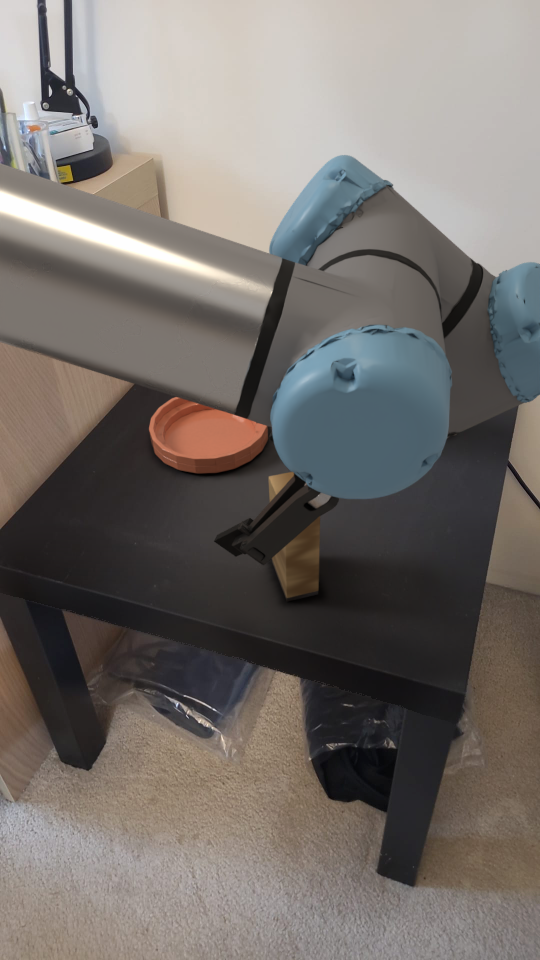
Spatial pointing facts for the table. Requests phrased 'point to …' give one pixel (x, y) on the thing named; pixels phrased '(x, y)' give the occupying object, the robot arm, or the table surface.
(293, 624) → the table surface
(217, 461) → the bowl
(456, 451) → the table surface
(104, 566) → the table surface
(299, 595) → the wooden block
